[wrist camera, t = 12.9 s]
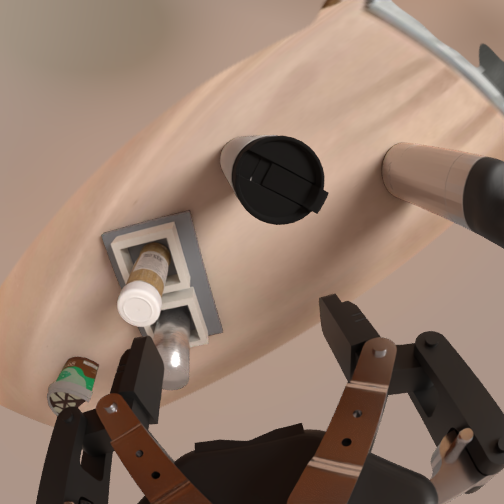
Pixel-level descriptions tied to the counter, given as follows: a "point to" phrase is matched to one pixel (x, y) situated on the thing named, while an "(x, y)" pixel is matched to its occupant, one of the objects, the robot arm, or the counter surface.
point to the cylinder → (174, 346)
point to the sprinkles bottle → (145, 286)
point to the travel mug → (274, 177)
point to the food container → (72, 384)
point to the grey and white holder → (170, 270)
